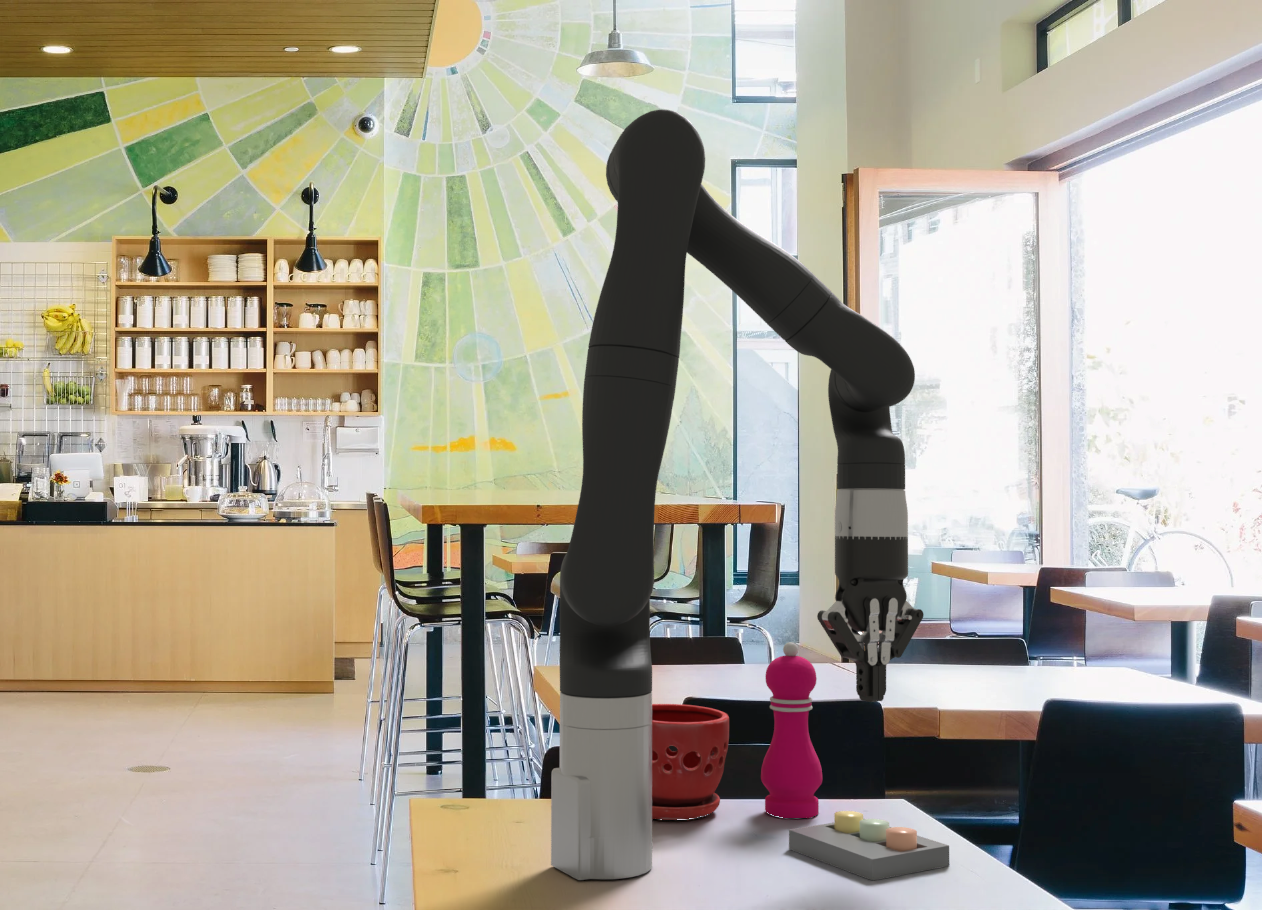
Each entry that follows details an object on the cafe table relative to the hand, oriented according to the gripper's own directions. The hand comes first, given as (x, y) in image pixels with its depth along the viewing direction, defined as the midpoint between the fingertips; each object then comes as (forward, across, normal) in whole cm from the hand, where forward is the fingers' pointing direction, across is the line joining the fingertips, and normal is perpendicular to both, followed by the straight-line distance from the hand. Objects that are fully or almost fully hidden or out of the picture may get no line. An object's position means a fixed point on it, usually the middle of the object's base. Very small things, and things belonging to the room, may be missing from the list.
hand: (871, 700), depth 126 cm
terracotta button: (+15, 0, -5) cm, 16 cm away
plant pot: (+16, -8, +25) cm, 31 cm away
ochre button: (+15, 0, +3) cm, 16 cm away
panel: (+16, -1, -1) cm, 16 cm away
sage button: (+15, 0, 0) cm, 15 cm away
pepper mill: (+16, +4, +18) cm, 25 cm away
